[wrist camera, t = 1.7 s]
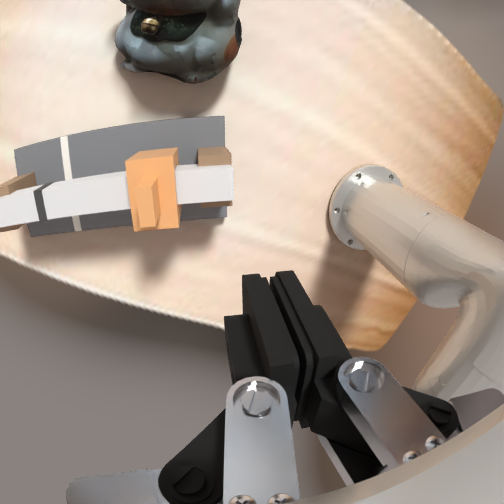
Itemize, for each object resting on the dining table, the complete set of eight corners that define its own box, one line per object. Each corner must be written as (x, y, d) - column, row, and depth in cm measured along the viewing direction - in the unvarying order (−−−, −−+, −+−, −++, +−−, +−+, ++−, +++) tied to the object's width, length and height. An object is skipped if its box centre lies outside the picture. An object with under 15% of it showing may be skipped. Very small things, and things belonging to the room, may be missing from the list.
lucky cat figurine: (99, 64, 25) (58, -17, 12) (159, 4, 26) (147, -75, 13) (208, 103, 27) (207, 0, 13) (262, 35, 28) (284, -55, 14)
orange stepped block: (177, 147, 28) (169, 162, 19) (181, 205, 30) (176, 244, 22) (139, 151, 27) (114, 169, 19) (145, 209, 30) (126, 248, 21)
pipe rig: (223, 115, 31) (232, 116, 23) (225, 213, 37) (235, 246, 28) (19, 147, 27) (-23, 163, 19) (35, 232, 33) (2, 266, 24)
